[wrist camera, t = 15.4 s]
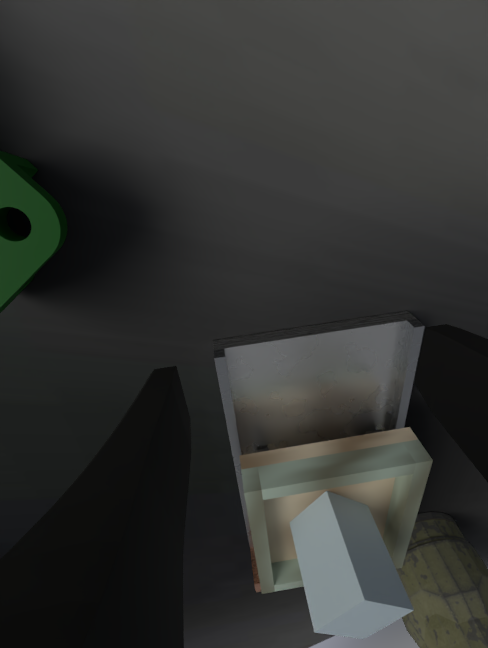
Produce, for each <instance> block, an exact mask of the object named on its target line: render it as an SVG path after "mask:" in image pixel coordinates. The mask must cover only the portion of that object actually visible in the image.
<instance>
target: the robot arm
mask: <svg viewBox="0 0 488 648" xmlns="http://www.w3.org/2000/svg"><path fill="white" fill-rule="evenodd" d="M415 384H416V385H417V387H418V389H419V391H420V392H421V394H422V396H423V398H424V399H425V401H426V403H427V404H428V406H429V407H430V409H431V411H432V412H433V414H434V415H435V416H436V417H437V419H438V420H439V421H440V423H441V424H442V425H443V426H444V428H445V429H446V430H447V432H448V433H449V434H450V435H451V437H452V438H453V439H454V440H455V442H456V443H457V444H458V445H459V447H460V448H461V449H462V450H463V452H464V453H465V454H466V455H467V457H468V458H469V459H470V460H471V462H472V463H473V464H474V465H475V467H476V468H477V469H478V470H479V472H480V473H481V474H482V475H483V477H484V478H485V479H486V480H487V482H488V339H486V338H483V337H481V336H478V335H476V334H473V333H470V332H468V331H465V330H462V329H459V328H457V327H453V326H450V325H447V324H445V325H438V326H432V327H426V329H425V334H424V339H423V343H422V348H421V353H420V358H419V363H418V368H417V373H416V377H415ZM190 460H191V429H190V416H189V412H188V408H187V405H186V401H185V397H184V393H183V389H182V386H181V382H180V378H179V374H178V371H177V367H176V366H173V367H167V368H160V369H154V371H153V372H152V373H151V375H150V376H149V378H148V379H147V381H146V383H145V384H144V386H143V388H142V389H141V391H140V392H139V394H138V396H137V397H136V399H135V400H134V402H133V403H132V405H131V406H130V408H129V409H128V411H127V412H126V414H125V415H124V417H123V418H122V420H121V421H120V423H119V424H118V426H117V427H116V428H115V430H114V431H113V433H112V434H111V435H110V437H109V438H108V439H107V441H106V442H105V443H104V445H103V446H102V447H101V449H100V450H99V451H98V453H97V454H96V455H95V457H94V458H93V459H92V461H91V462H90V463H89V464H88V466H87V467H86V468H85V469H84V471H83V472H82V473H81V474H80V476H79V477H78V478H77V479H76V480H75V481H74V483H73V484H72V485H71V486H70V487H69V488H68V490H67V491H66V492H65V493H64V494H63V495H62V496H61V498H60V499H59V500H58V501H57V502H56V503H55V504H54V505H53V506H52V507H51V509H50V510H49V511H48V512H47V513H46V514H45V515H44V516H43V517H42V518H41V519H40V520H39V521H38V522H37V523H36V524H35V525H34V526H33V527H32V528H31V529H30V530H29V531H28V532H27V533H26V534H25V535H24V536H23V537H22V538H21V539H20V540H19V541H18V542H17V543H16V544H15V545H14V546H13V548H12V549H11V550H10V551H9V552H8V553H7V554H5V555H4V556H3V557H2V558H1V559H0V648H184V639H183V545H184V529H185V518H186V506H187V495H188V484H189V472H190Z"/></svg>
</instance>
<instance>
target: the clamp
mask: <svg viewBox="0 0 488 648" xmlns="http://www.w3.org/2000/svg"><path fill="white" fill-rule="evenodd" d="M37 171H38V169H37V168H35V167H34V166H33V165H32V164H31V163H30V162H29V161H28V160H27V159H24V158H21V157H18V156H15V155H12V154H9V153H6V152H3V151H0V313H1V312H2V311H3V310H4V309H5V308H6V307H7V306H8V305H9V304H10V303H11V302H12V301H13V300H14V299H15V298H16V296H17V295H18V294H19V293H20V292H21V291H22V290H23V289H24V288H25V287H26V286H27V285H28V284H29V283H30V282H31V281H32V280H33V279H34V277H35V274H36V273H37V272H38V271H39V270H40V269H41V268H42V266H43V265H44V264H45V263H46V262H47V261H48V260H49V259H50V258H51V257H52V256H53V255H54V254H55V253H56V252H57V251H58V250H59V249H60V248H61V247H62V245H63V243H64V241H65V239H66V236H67V220H66V217H65V214H64V212H63V210H62V208H61V206H60V205H59V203H58V202H57V201H56V200H55V199H54V198H53V197H52V196H51V195H50V194H49V193H48V192H47V191H46V190H44V189H43V188H42V187H41V186H40V185H39V184H38V183H36V182H35V181H34V180H33V179H32V177H33V176H34V175H35V173H36V172H37ZM13 207H14V208H17V209H19V210H21V211H22V212H24V213H25V214H26V215H27V217H28V218H29V220H30V222H31V233H30V235H29V236H28V237H23V236H20V235H18V234H16V233H14V232H13V231H12V230H11V229H10V227H9V226H8V223H7V214H8V212H9V210H10V209H12V208H13Z"/></svg>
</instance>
